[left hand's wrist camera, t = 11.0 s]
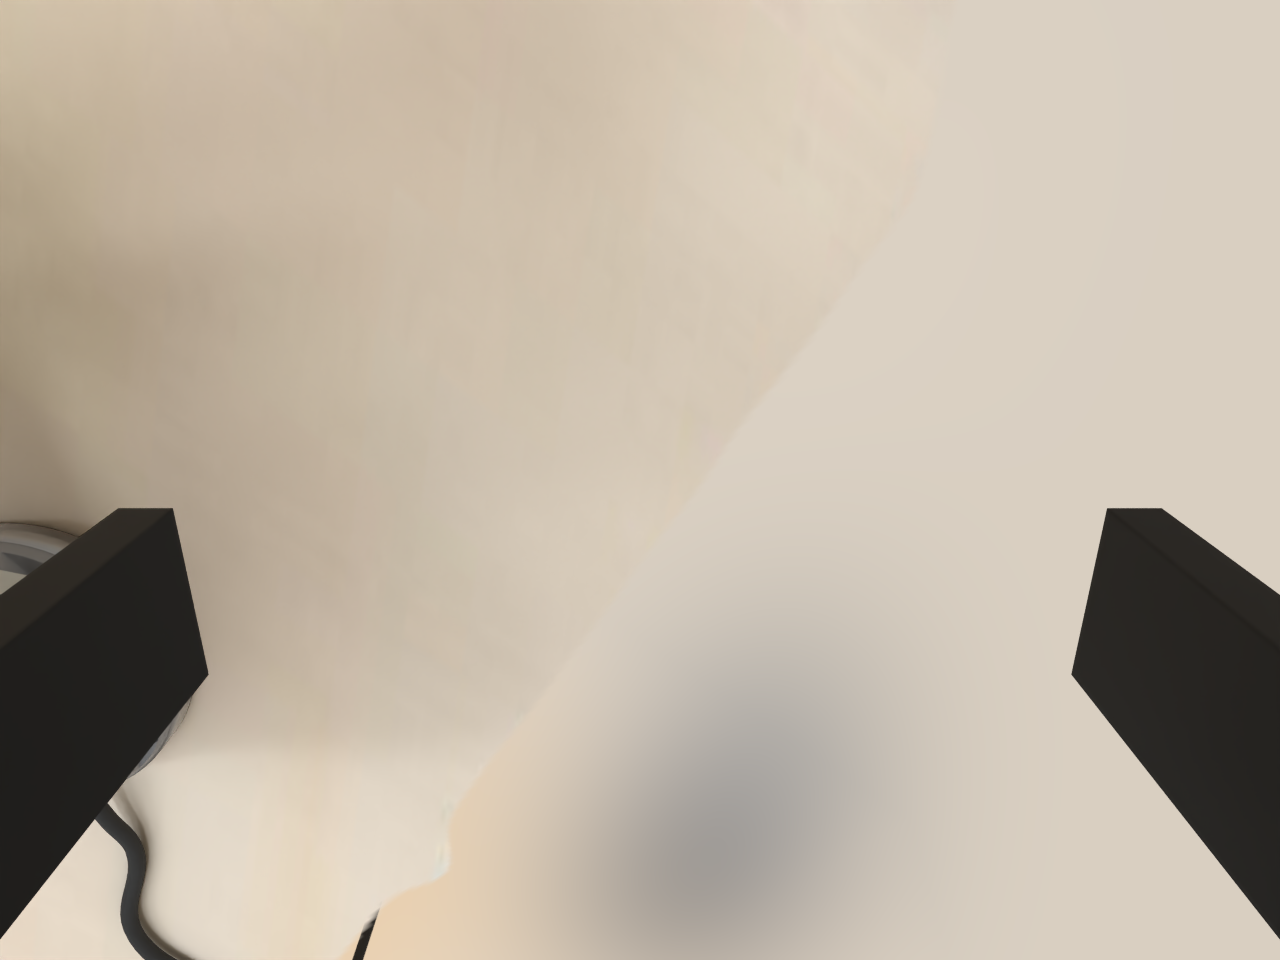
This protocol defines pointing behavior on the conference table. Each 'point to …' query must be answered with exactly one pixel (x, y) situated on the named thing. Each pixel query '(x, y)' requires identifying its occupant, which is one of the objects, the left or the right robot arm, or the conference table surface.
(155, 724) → the left robot arm
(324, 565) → the conference table surface
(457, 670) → the conference table surface
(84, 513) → the conference table surface
